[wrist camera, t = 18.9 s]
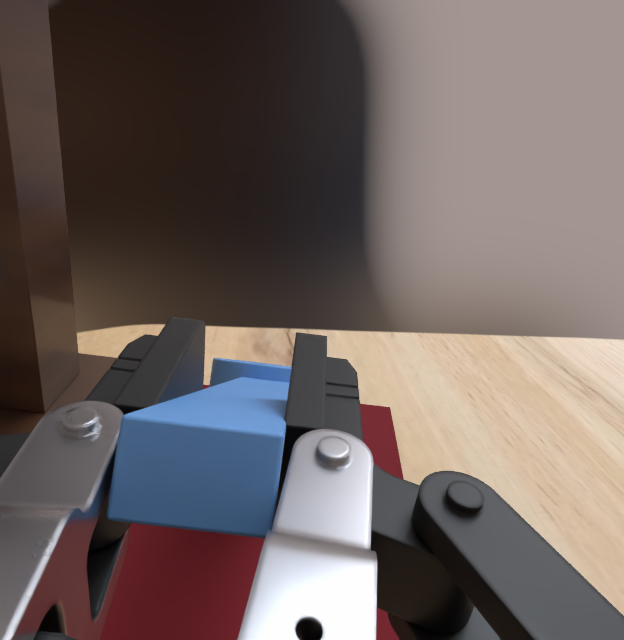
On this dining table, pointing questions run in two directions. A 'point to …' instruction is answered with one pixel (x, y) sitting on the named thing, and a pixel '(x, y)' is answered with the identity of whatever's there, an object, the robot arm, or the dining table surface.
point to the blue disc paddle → (206, 454)
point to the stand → (34, 234)
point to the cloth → (210, 569)
